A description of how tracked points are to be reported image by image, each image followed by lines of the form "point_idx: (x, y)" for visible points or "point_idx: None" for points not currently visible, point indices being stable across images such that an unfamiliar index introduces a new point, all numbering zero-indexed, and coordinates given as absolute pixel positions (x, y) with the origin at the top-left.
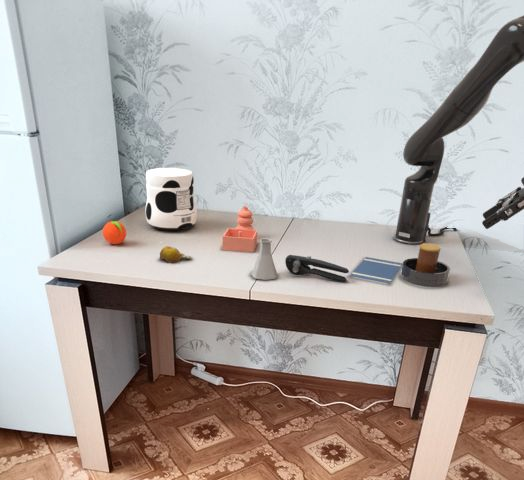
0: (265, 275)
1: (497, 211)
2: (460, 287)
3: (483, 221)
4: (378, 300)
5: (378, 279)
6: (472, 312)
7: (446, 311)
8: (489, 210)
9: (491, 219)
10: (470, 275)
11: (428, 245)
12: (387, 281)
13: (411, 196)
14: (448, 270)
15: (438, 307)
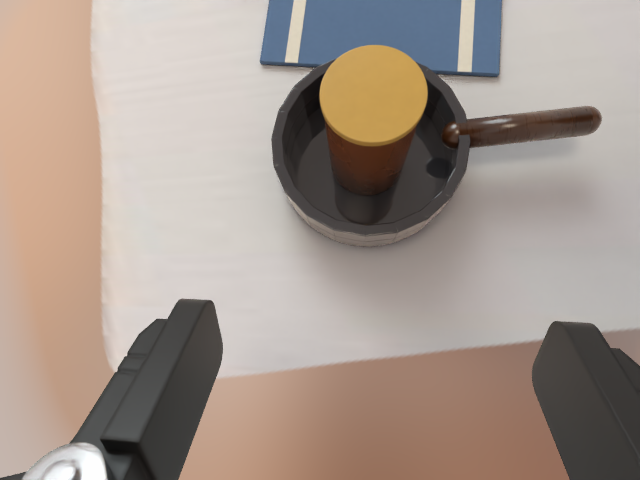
0: None
1: (57, 465)
2: (343, 298)
3: (178, 306)
4: (123, 55)
5: (283, 24)
6: (119, 335)
7: (102, 252)
8: (594, 394)
9: (116, 383)
10: (510, 342)
11: (386, 82)
12: (276, 52)
13: None
14: (349, 229)
15: (126, 226)
